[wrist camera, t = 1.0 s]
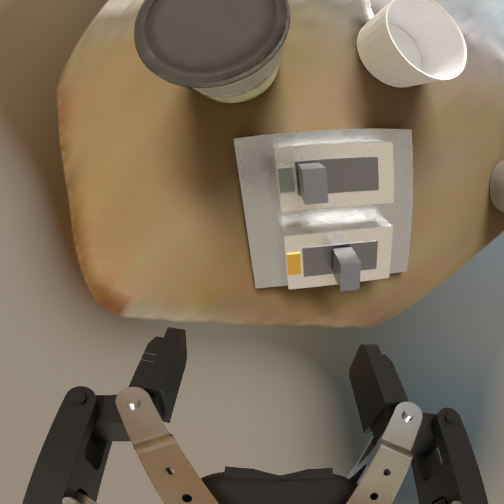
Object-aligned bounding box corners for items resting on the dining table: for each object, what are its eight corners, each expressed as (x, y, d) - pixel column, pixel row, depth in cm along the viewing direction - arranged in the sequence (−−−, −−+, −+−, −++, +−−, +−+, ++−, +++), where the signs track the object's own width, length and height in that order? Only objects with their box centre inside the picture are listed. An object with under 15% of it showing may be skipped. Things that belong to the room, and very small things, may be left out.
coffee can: (175, 92, 27) (114, 75, 15) (204, 15, 23) (165, -43, 10) (263, 115, 28) (261, 105, 16) (292, 35, 24) (309, -22, 11)
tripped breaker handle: (351, 247, 29) (360, 262, 25) (350, 272, 30) (359, 289, 27) (333, 248, 29) (340, 264, 26) (333, 274, 30) (340, 291, 27)
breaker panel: (405, 129, 27) (425, 131, 23) (402, 266, 35) (416, 283, 31) (235, 138, 29) (229, 140, 25) (256, 282, 37) (254, 303, 33)
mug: (433, 82, 24) (478, 75, 16) (373, 94, 26) (410, 86, 18) (394, -2, 20) (428, -29, 12) (331, 6, 22) (352, -29, 13)
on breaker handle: (318, 162, 25) (326, 167, 22) (320, 193, 27) (328, 202, 23) (297, 164, 26) (302, 169, 22) (300, 194, 27) (305, 204, 24)
